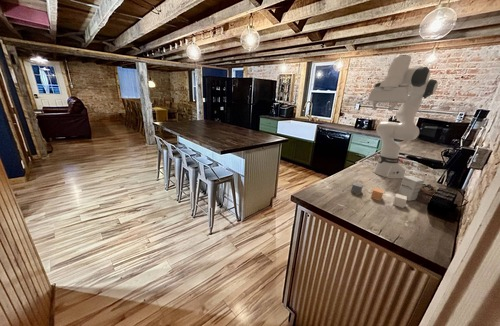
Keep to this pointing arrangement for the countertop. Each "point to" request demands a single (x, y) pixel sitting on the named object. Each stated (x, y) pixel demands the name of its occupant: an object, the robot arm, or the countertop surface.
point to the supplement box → (410, 187)
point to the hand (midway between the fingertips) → (381, 110)
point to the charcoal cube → (356, 188)
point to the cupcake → (426, 193)
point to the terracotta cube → (377, 194)
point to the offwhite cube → (400, 200)
